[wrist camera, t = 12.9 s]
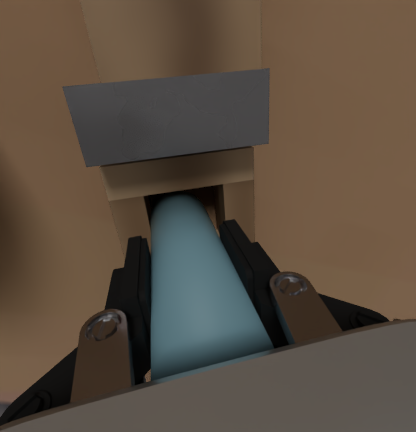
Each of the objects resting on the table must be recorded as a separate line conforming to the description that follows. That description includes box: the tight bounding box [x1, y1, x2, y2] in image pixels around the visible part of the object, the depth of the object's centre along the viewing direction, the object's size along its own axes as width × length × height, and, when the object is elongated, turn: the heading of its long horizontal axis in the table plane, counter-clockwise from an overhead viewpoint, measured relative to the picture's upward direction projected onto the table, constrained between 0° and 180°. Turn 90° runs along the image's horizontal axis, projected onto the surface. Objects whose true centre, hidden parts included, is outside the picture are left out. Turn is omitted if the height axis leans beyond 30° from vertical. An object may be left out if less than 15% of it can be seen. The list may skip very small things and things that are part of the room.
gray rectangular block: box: [63, 68, 269, 167], centre depth 13 cm, size 8×3×5 cm, turn 95°
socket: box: [99, 146, 255, 258], centre depth 16 cm, size 8×8×3 cm
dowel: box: [151, 191, 274, 381], centre depth 11 cm, size 3×3×10 cm
